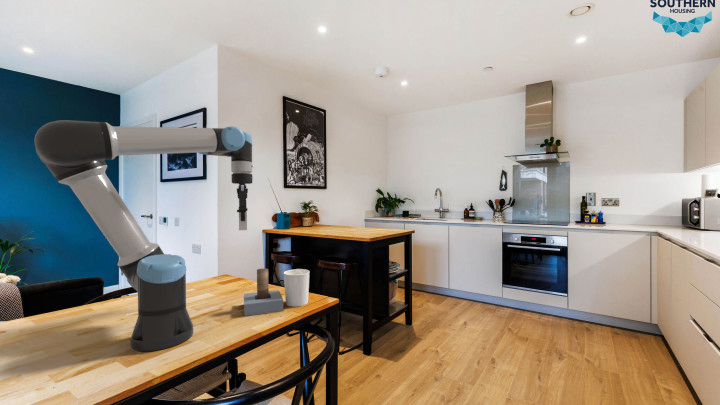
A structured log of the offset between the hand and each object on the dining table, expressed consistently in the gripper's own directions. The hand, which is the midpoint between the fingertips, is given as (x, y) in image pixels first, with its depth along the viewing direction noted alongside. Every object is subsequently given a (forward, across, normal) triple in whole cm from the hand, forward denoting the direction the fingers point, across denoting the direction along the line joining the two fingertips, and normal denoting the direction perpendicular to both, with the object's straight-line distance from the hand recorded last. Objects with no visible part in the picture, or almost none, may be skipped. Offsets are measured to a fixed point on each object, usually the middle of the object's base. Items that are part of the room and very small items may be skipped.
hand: (242, 228), depth 119 cm
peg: (+29, -8, -6) cm, 30 cm away
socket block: (+29, -8, -6) cm, 30 cm away
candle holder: (+29, -8, -19) cm, 35 cm away
